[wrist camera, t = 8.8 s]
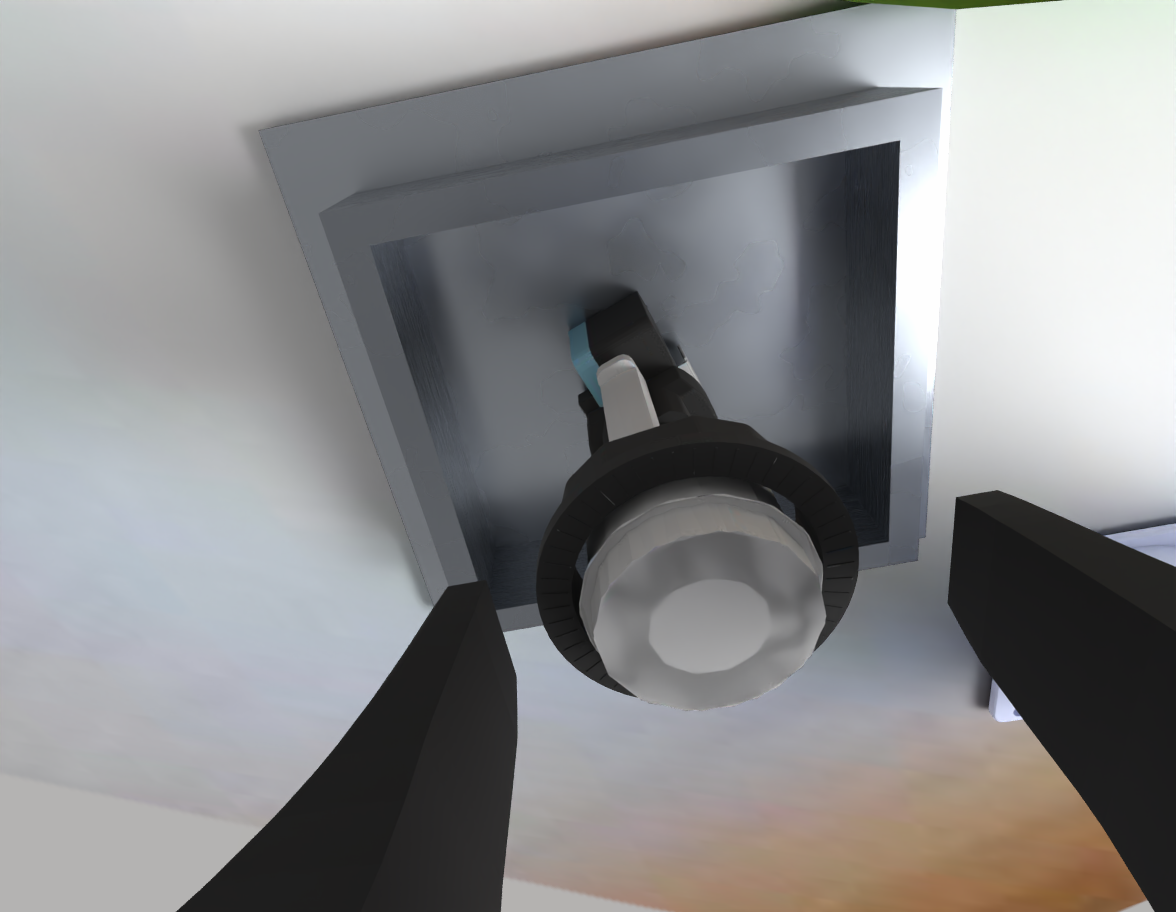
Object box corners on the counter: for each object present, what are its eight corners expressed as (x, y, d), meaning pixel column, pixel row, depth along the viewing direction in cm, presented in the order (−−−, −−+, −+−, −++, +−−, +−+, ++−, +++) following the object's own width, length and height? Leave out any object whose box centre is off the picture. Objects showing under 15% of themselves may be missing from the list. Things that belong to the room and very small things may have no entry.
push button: (781, 445, 21) (953, 715, 12) (624, 526, 22) (674, 828, 13) (679, 247, 18) (805, 407, 9) (504, 351, 19) (464, 585, 10)
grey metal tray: (944, -11, 16) (1041, -34, 13) (916, 526, 23) (975, 597, 20) (268, 129, 17) (201, 139, 14) (442, 609, 24) (425, 691, 21)
